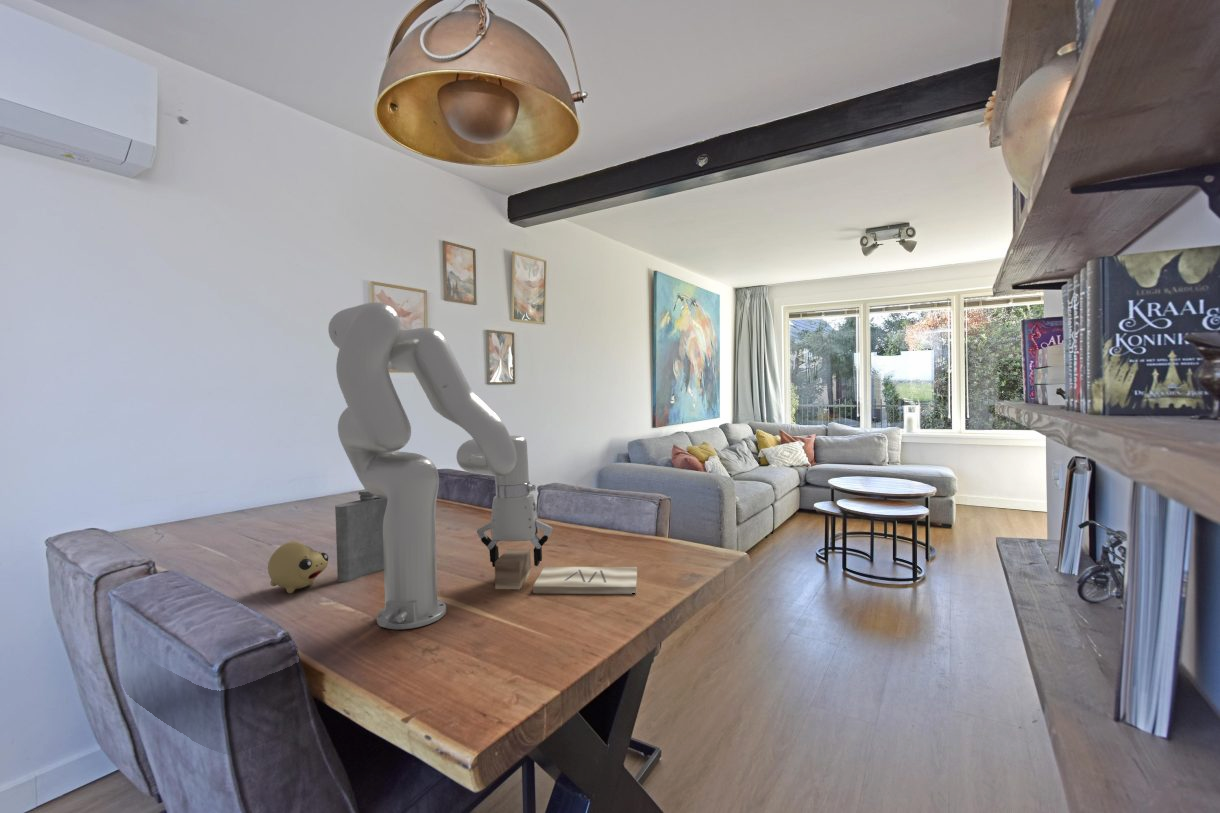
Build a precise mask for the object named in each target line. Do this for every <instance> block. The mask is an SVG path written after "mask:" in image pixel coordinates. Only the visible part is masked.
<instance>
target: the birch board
mask: <svg viewBox="0 0 1220 813" xmlns="http://www.w3.org/2000/svg"><path fill="white" fill-rule="evenodd" d="M637 585H638V567H637V566H543V568H542V570H541V572H540V573H539V575H538V577H537V579H536V580H535V582H534V583H533V585H532V593H533V594H577V595H578V594H582V595H583V594H585V595H586V594H589V595H590V594H591V595H593V594H595V595H599V594H600V595H602V594H605V595H606V594H607V595H611V594H612V595H633V594H632V593H635V594H634V595H636V594H637V589H636V588H638V587H637Z"/></svg>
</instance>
